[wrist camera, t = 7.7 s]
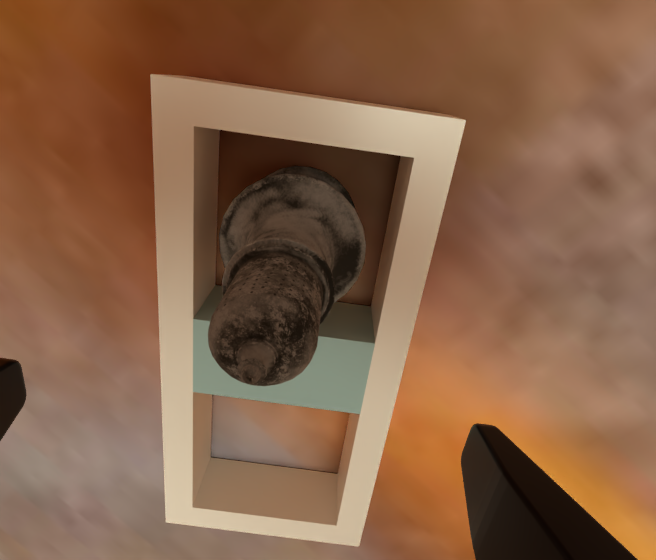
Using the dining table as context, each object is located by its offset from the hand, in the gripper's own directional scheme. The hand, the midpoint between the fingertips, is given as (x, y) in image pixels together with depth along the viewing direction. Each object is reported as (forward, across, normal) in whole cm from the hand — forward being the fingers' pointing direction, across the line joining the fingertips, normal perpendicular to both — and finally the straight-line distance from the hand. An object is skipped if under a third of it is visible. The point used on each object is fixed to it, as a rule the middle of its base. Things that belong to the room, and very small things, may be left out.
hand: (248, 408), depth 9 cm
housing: (+13, 0, +6) cm, 14 cm away
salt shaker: (+13, 0, 0) cm, 13 cm away
